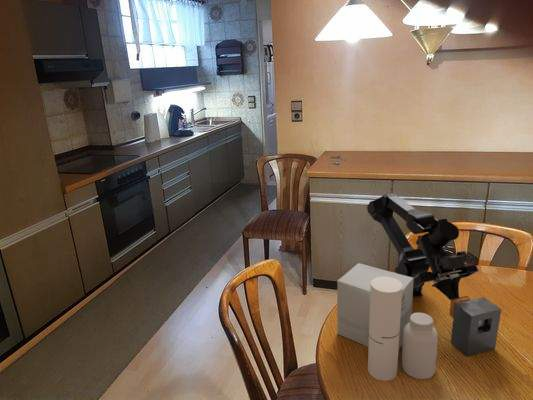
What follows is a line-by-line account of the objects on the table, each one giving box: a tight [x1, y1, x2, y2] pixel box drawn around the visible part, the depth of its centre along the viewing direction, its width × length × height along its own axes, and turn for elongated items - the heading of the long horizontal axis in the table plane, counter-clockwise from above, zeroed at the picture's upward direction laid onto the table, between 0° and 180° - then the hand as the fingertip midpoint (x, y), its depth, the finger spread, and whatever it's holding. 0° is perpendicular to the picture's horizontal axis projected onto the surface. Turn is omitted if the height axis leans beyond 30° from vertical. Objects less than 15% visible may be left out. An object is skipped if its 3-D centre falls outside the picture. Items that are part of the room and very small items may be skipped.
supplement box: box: [336, 262, 414, 351], centre depth 111 cm, size 17×13×18 cm
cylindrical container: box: [367, 277, 402, 382], centre depth 96 cm, size 7×7×25 cm
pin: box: [449, 295, 485, 327], centre depth 107 cm, size 8×5×5 cm, turn 15°
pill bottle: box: [401, 312, 439, 380], centre depth 98 cm, size 8×8×15 cm
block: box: [450, 296, 502, 358], centre depth 105 cm, size 6×9×12 cm, turn 105°
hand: (457, 304), depth 111 cm, fingers closed, pressing on pin
